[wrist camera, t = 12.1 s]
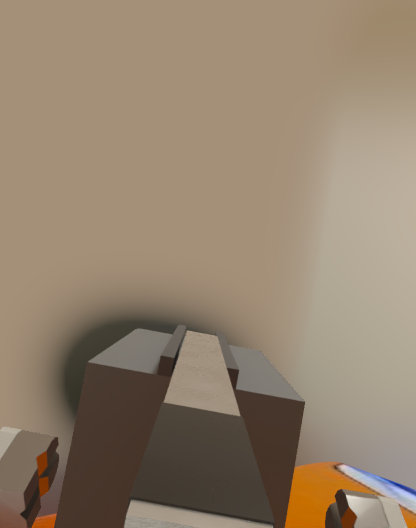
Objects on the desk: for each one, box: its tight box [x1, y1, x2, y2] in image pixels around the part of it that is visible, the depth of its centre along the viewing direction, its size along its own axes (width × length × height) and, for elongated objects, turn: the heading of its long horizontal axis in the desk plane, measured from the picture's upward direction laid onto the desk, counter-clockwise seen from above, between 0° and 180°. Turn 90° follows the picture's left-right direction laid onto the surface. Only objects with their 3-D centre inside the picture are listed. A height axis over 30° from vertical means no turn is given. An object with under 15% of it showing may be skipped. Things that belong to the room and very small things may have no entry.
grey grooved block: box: [54, 325, 305, 528], centre depth 35 cm, size 17×20×27 cm
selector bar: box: [124, 331, 275, 528], centre depth 21 cm, size 3×28×2 cm, turn 1°
